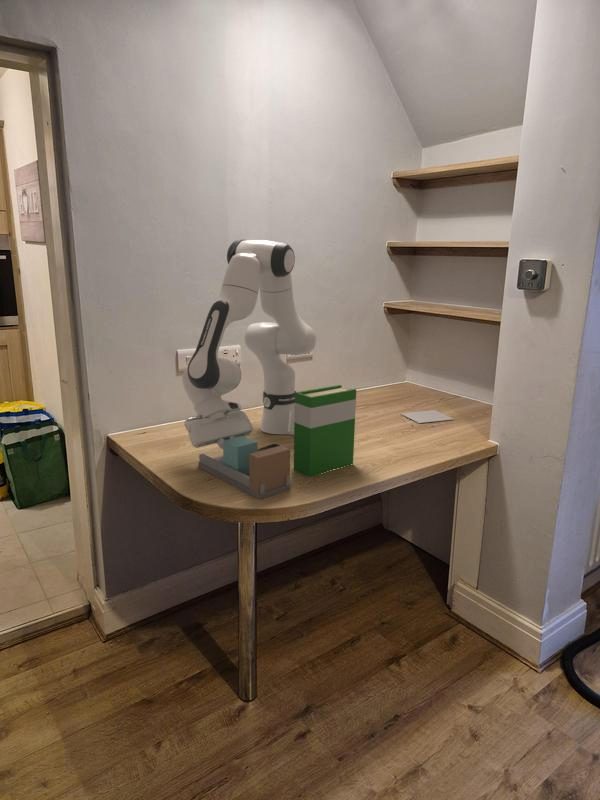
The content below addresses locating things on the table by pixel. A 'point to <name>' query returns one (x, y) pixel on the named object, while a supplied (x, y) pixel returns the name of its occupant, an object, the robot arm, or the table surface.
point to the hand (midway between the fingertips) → (231, 452)
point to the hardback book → (324, 429)
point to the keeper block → (238, 453)
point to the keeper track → (255, 472)
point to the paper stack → (427, 416)
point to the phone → (268, 447)
